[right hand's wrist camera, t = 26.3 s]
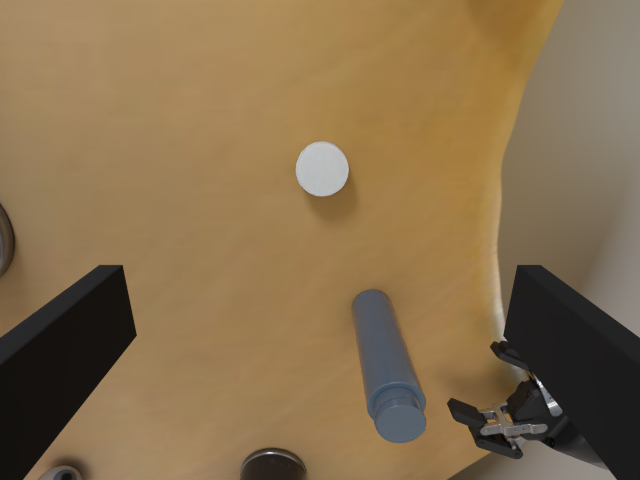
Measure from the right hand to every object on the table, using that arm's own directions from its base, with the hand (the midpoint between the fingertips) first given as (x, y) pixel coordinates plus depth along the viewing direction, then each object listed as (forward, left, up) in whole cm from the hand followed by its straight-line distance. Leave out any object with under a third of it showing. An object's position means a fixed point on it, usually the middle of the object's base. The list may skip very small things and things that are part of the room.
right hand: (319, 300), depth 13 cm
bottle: (-3, -18, -28) cm, 33 cm away
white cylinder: (0, 0, -26) cm, 26 cm away
